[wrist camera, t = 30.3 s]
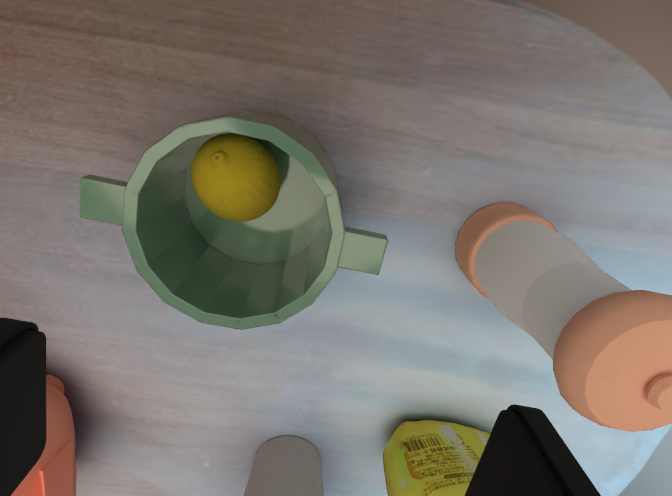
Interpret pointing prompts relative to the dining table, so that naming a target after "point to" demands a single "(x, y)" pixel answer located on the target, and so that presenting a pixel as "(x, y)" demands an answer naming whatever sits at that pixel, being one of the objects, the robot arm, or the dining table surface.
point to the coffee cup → (286, 469)
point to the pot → (234, 227)
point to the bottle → (432, 458)
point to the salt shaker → (575, 316)
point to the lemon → (235, 177)
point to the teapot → (54, 449)
